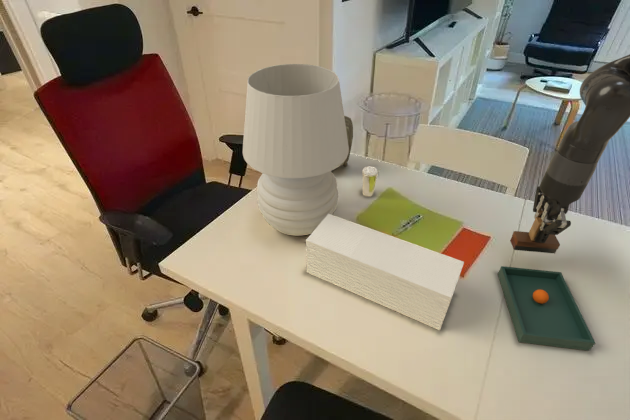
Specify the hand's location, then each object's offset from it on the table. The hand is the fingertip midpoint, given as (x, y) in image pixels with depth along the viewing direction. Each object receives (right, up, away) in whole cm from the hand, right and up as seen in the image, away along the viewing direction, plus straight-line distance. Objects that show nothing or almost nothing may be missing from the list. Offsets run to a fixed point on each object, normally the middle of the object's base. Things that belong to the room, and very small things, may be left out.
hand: (536, 236), depth 85 cm
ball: (-2, -13, -4) cm, 14 cm away
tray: (-2, -15, -4) cm, 16 cm away
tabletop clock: (-46, +20, +40) cm, 64 cm away
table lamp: (-55, +3, +19) cm, 58 cm away
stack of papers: (-36, -11, +2) cm, 38 cm away
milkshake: (-34, +11, +29) cm, 46 cm away
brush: (0, -3, +2) cm, 3 cm away
